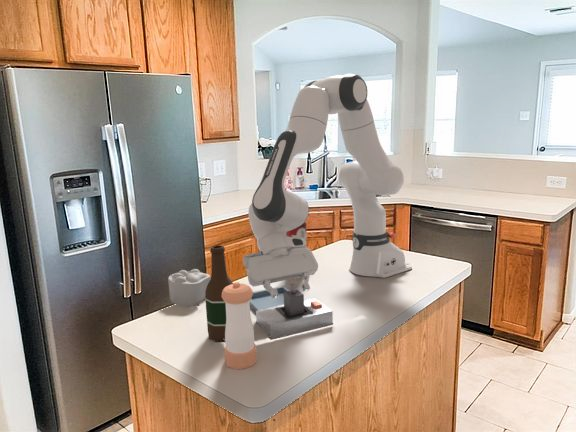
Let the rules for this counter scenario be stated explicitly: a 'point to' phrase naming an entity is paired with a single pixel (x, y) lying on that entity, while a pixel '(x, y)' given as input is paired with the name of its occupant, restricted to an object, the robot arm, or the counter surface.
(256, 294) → the tray
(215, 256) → the beer bottle
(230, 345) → the pepper shaker
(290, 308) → the plug
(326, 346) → the counter surface
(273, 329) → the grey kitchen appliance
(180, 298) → the lumpy-topped squat cylinder
